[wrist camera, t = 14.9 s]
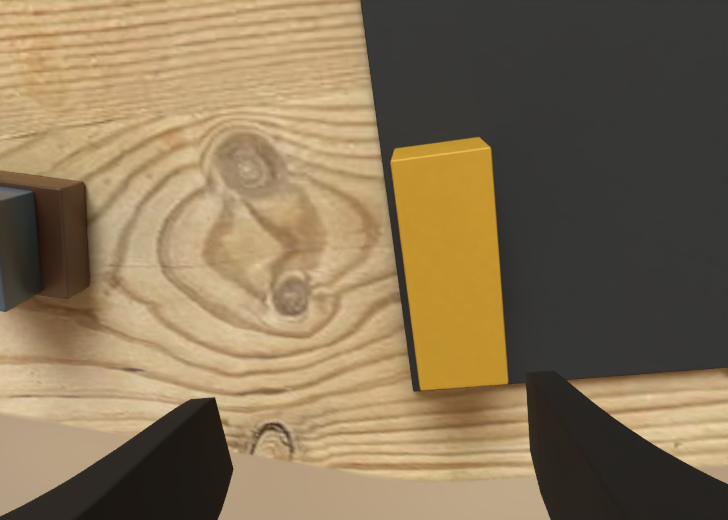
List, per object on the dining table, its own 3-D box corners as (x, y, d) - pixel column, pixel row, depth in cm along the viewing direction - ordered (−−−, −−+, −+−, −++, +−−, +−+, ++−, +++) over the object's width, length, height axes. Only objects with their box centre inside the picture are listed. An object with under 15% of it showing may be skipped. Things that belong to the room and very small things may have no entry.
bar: (496, 344, 21) (508, 385, 18) (419, 350, 21) (420, 391, 19) (480, 136, 19) (491, 146, 16) (394, 148, 19) (389, 160, 16)
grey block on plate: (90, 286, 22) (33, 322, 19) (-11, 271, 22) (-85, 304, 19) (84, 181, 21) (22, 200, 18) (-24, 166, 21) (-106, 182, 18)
